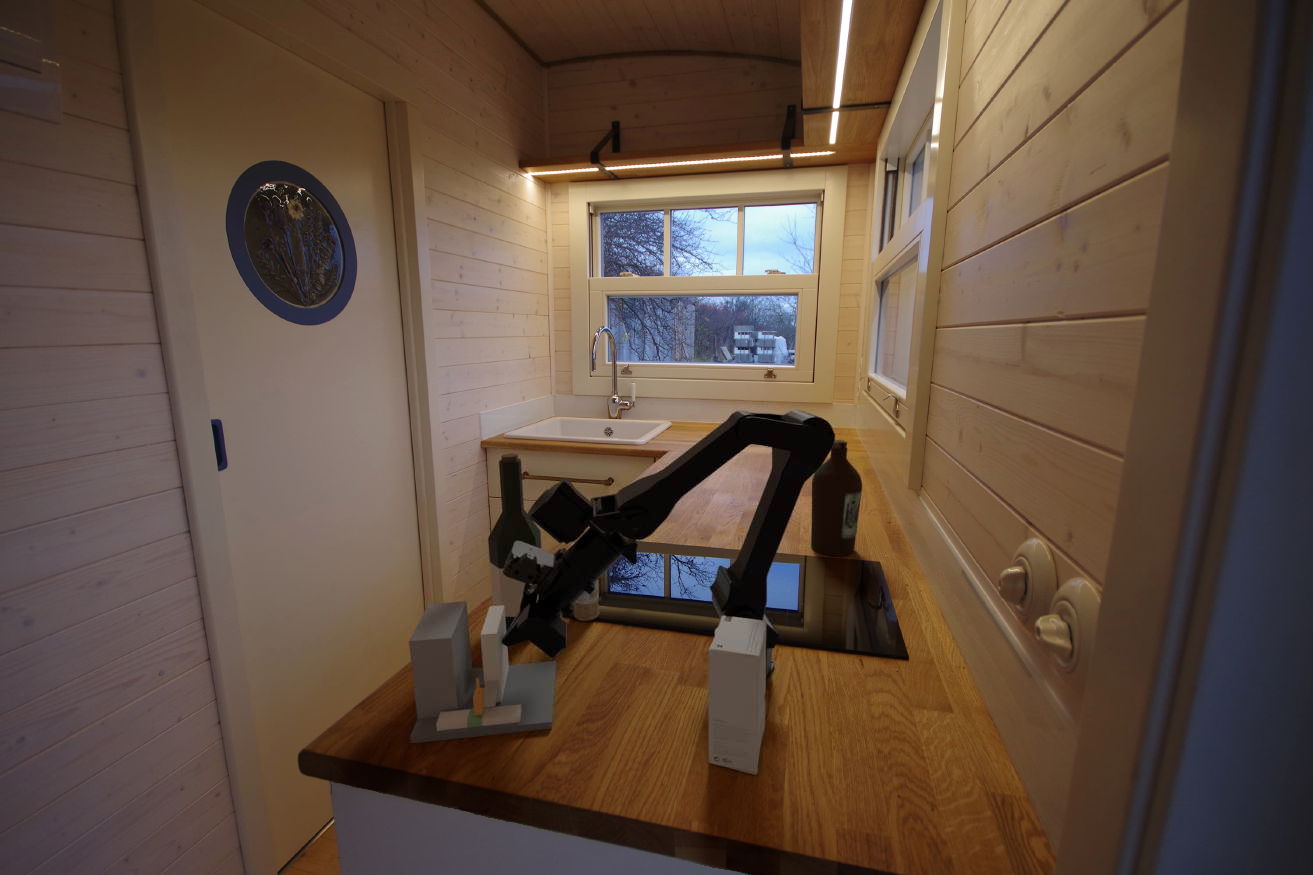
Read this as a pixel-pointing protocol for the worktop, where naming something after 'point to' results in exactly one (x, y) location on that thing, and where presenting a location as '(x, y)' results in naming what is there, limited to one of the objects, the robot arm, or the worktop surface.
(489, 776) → the worktop surface
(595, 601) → the sprinkles bottle
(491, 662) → the white tall block
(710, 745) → the skincare box
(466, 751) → the worktop surface
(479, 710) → the orange block with rod
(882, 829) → the worktop surface
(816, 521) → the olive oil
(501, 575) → the wine bottle
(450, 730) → the base
